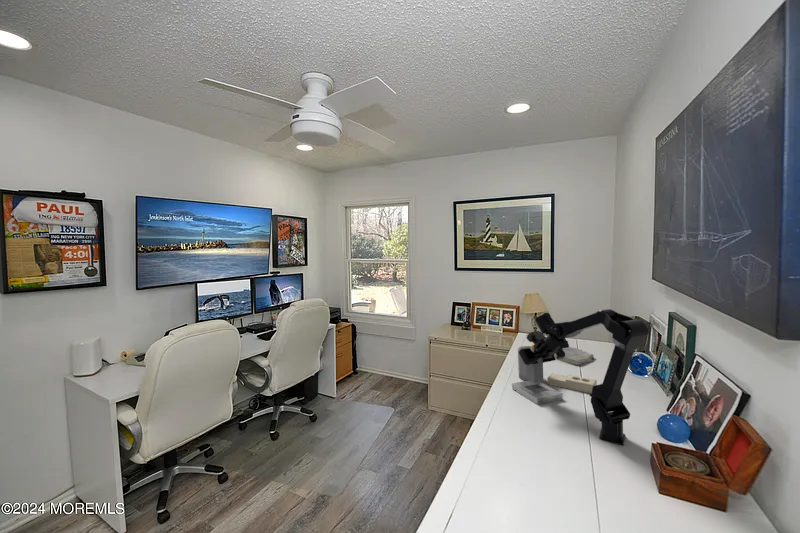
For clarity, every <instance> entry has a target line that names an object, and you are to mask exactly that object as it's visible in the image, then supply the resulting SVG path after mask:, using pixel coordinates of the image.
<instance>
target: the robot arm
mask: <svg viewBox="0 0 800 533" xmlns="http://www.w3.org/2000/svg"><path fill="white" fill-rule="evenodd" d="M534 322H535V324H536V326H537V327H538V329H539V331H538V330H537V331H531V332H529V333H528V334H527V335H526V339H527V341H528V342H529V343H532V344H535V345H534V348H535V349H537V350H534V352H532V351H531V349H530V348H528V347H527V348H521V349H520V350H519V354H520V356H521V358H522V360H523V362H524V363H525V364H526V365H528V366H529V365H533V364H537V363H538V362H537V360H538V359H539V358H542V359H543V364H545V363H548V362H554V361H556V359H555V357H554V356H555V353H556V355H557V357H556V358H557V359H563V358H564V357H565V352H564V351H563V349H562V348H569V347H570V344H569V340H567V339H569V338H574V337H576V336H578V335H580V334H581V333H582V332H583V331H584V330H588V329H591V328H594V327H598V326H601V325H603V327H604V328H605V329H606V330H607V331H608V332H609V333H611V334H612V337H611V338H612V341H613V345H614V348H613V350H612V354H611V356H610V360H609V363H608V366H607V369H606V371H605V375H604V378H603V381H602V383H600V384H597V385H595V386H593V388H592V393H590V395H589V397H590V404H591V406H592V410H593V414H594V416H595V418H596V419H597V420H598V421H599V422H601V426H600V427H601V428H600V429H601V430H600V432H599V436H598V438H599V440H603V441H606V442H610V443H614V444H617V445H621V446H624V445H625V439H626V434H625V433H624V421H625V420H629V419H630V416H631V413H630V411H629V410H628V408H627V407H626V406H625V403H623V402H624V401H623V400H624V395H623V393H622V390H621V389H622V387H623V384H624V381H625V378H626V376H627V372H628V370H629V367H630V364H631V361H632V357H633V355H634V352H635V351H636V350H637V349H638V348H639V347H640V346H641V345H642V344H643V343H644V342H645V340H646V338H647V337H648V334H649V328H648V327H647V325H646V324H645V322H643V321H642V320H640V319H636V318H633V317H631V316H628V315H625V314H622V313H619V312H617V311H615V310H613V309H610V308H609V309H601V310H598V311H596V312H594V313H592V314H591V313H590V314H588V315H585V316H582V317H580V318H577V319H574V320H571V321H568V320H567V321H561V322H555V321H554V320H553V318H552V316H551V314H550V313H549V312H544V313H543V314H540V315H539V316H538V317H535V319H534ZM544 334H545V335H547V336H545V335H544Z"/></svg>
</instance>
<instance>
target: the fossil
mask: <svg viewBox="0 0 800 533" xmlns="http://www.w3.org/2000/svg"><path fill="white" fill-rule="evenodd" d="M562 349H563V351H564V352H565V357H564V358H563V359H557V358H556V357H557V355H556V353H555V356H554V357H555V359H556V360H557V361H560V362H563V363H565V364H570V365H574V366H579V365H582V364H586V363H590V362H593V361H595V360H597V359H596V358H595V356H594V354H593V353H589V352H586V350H585V351H583V350H582V349H580V348H576V347H571V346H569V348H562ZM556 360H555V361H556Z"/></svg>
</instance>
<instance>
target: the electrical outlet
mask: <svg viewBox="0 0 800 533" xmlns="http://www.w3.org/2000/svg"><path fill="white" fill-rule="evenodd" d="M546 385H550V386H553V387H554V386H556V387H559V388H565V389H570V390H572V391H573V390H574V391H579V392H583V393H588V394H591V393H592V388H593V386H595V385H598V380H597V379H595V378H590V377H586V376H585V377H583V376H579V375H574V374H568V375H565V374H560V373H555V372H554V373H553V372H552V373H550V374H549V376H547V384H546Z"/></svg>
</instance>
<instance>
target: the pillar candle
mask: <svg viewBox="0 0 800 533" xmlns="http://www.w3.org/2000/svg"><path fill="white" fill-rule="evenodd" d="M527 347H528V348H532V345H523V346H522V345H521V346H519V347H518V348H517V363H518V368H517V369H518V378H519V379H520V380H523V381H529V380H527V367H526V364H525V363H524V362H523V360H522V358H521V356H520V354H519V350H520V349H521V348H527Z"/></svg>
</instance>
